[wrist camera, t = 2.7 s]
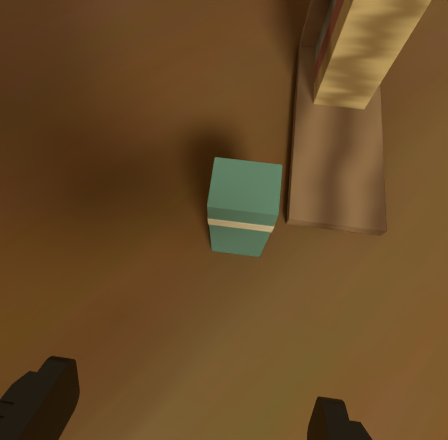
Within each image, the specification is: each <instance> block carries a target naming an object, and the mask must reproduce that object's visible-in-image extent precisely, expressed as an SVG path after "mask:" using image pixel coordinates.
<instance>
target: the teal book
mask: <svg viewBox="0 0 448 440" xmlns="http://www.w3.org/2000/svg"><path fill="white" fill-rule="evenodd" d="M281 175H282V165H279V164H270V163H262V162H253V161H245V160H236V159H227V158H219V157H215V159H214V165H213V172H212V178H211V184H210V190H209V197H208V203H207V212H208V224H209V229H210V238H211V247H212V251H217V252H225V253H233V254H241V255H248V256H256V257H260V255H261V253H262V251H263V248H264V246H265V244H266V242H267V239H268V237H269V235H270V233H271V232H272V230H273V228H274V224H275V222H276V220H277V217H278V214H279V201H280V188H281Z"/></svg>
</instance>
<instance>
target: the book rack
mask: <svg viewBox="0 0 448 440" xmlns="http://www.w3.org/2000/svg"><path fill="white" fill-rule="evenodd" d="M430 2H431V0H310V4H309V7H308V11H307V15H306V19H305V23H304V27H303V30H302V34H301V38H300V42H299V46H298V57H297V72H296V87H295V102H294V116H293V131H292V146H291V161H290V175H289V190H288V205H287V219H286V224H292V225H300V226H308V227H316V228H324V229H332V230H340V231H348V232H356V233H364V234H372V235H382V234H383V233H385V232H386V231H387V225H386V203H385V181H384V160H383V138H382V116H381V94H380V83H381V81H382V80H383V78H384V76H385V75H386V73H387V72H388V70H389V68H390V67H391V65H392V63H393V62H394V60H395V59H396V57H397V55H398V54H399V52H400V51H401V49H402V47H403V46H404V44H405V42H406V41H407V39H408V38H409V36H410V34H411V33H412V31H413V29H414V28H415V26H416V25H417V23H418V21H419V20H420V18H421V16H422V15H423V13H424V12H425V10H426V8H427V7H428V5H429V3H430Z"/></svg>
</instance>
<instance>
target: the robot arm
mask: <svg viewBox="0 0 448 440" xmlns="http://www.w3.org/2000/svg"><path fill="white" fill-rule="evenodd" d="M79 393H80V388H79V381H78V373H77V366H76V361H75V360H74V359H69V358H63V357H56V356H51V357H49V358H48V359H47V360H46V361H45V362H44V364H43V365H42V366H41V368H40V369H39V371H38V372H32V371H29V372H28V373H26V374H25V375H24V376H22V377H21V378H20V379H18V380H17V381H16V382H14V383H13V384H12V385H11V386H10V388H9V389H8V390H7V391H6V393H5V394H4V395H3V396H2V398H1V399H0V440H58V439H59V438H60V436H61V434H62V432H63V430H64V428H65V427H66V425H67V423H68V421H69V419H70V417H71V416H72V414H73V412H74V410H75V408H76V405H77V402H78V399H79ZM307 440H372V439H371V437H370V436H369V434H368V433H367V431H366V430H365V428H364V427H363V425H362V424H361V422H356V421H349V417H348V413H347V410H346V406H345V403H344V402H343V400H339V399H333V398H326V397H318V398H317V400H316V403H315V406H314V409H313V413H312V416H311V419H310V422H309V426H308V432H307Z"/></svg>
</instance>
